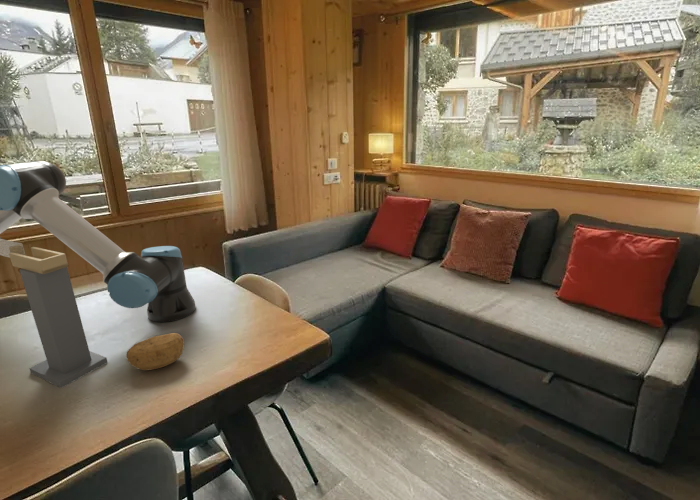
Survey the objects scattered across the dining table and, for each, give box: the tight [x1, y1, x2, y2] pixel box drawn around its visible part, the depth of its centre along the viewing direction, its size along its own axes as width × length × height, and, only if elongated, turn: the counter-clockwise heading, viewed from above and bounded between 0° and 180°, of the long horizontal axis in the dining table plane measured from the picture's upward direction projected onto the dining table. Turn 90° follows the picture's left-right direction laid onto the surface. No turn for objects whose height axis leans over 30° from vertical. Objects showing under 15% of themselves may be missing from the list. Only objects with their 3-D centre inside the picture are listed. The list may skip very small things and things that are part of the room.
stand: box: [9, 246, 109, 389], centre depth 104 cm, size 14×12×32 cm
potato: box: [125, 332, 185, 371], centre depth 108 cm, size 10×14×8 cm
